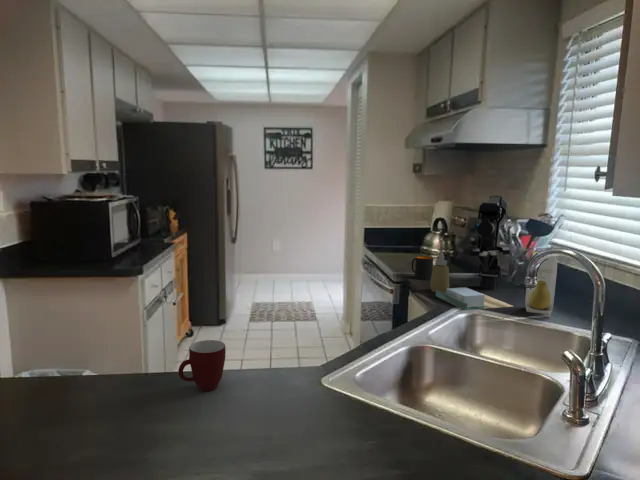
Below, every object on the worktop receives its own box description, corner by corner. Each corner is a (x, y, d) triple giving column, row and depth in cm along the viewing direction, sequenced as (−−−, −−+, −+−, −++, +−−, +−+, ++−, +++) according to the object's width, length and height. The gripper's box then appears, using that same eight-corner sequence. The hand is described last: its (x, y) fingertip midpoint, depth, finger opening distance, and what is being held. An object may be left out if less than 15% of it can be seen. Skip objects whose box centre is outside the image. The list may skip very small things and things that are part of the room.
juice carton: (524, 315, 171) (530, 250, 168) (523, 309, 178) (529, 247, 175) (552, 318, 168) (559, 253, 164) (550, 312, 175) (557, 249, 171)
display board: (481, 295, 197) (481, 287, 196) (513, 309, 178) (514, 300, 178) (435, 298, 190) (436, 290, 190) (464, 313, 171) (465, 303, 171)
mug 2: (417, 274, 237) (418, 254, 235) (435, 279, 227) (436, 258, 226) (405, 276, 232) (406, 255, 230) (423, 281, 222) (425, 259, 221)
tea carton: (465, 296, 190) (466, 287, 189) (484, 305, 179) (484, 294, 178) (446, 298, 187) (446, 288, 187) (463, 306, 176) (464, 296, 175)
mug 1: (187, 402, 101) (186, 358, 99) (174, 388, 107) (173, 346, 106) (231, 389, 107) (231, 348, 105) (216, 377, 113) (216, 337, 112)
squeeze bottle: (451, 296, 195) (453, 254, 192) (431, 296, 195) (434, 253, 192) (446, 291, 203) (448, 251, 200) (427, 291, 203) (430, 250, 200)
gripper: (494, 230, 197) (491, 266, 200) (456, 231, 192) (453, 268, 194) (512, 234, 187) (509, 272, 189) (472, 235, 181) (470, 274, 184)
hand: (485, 271), depth 189 cm, fingers closed
